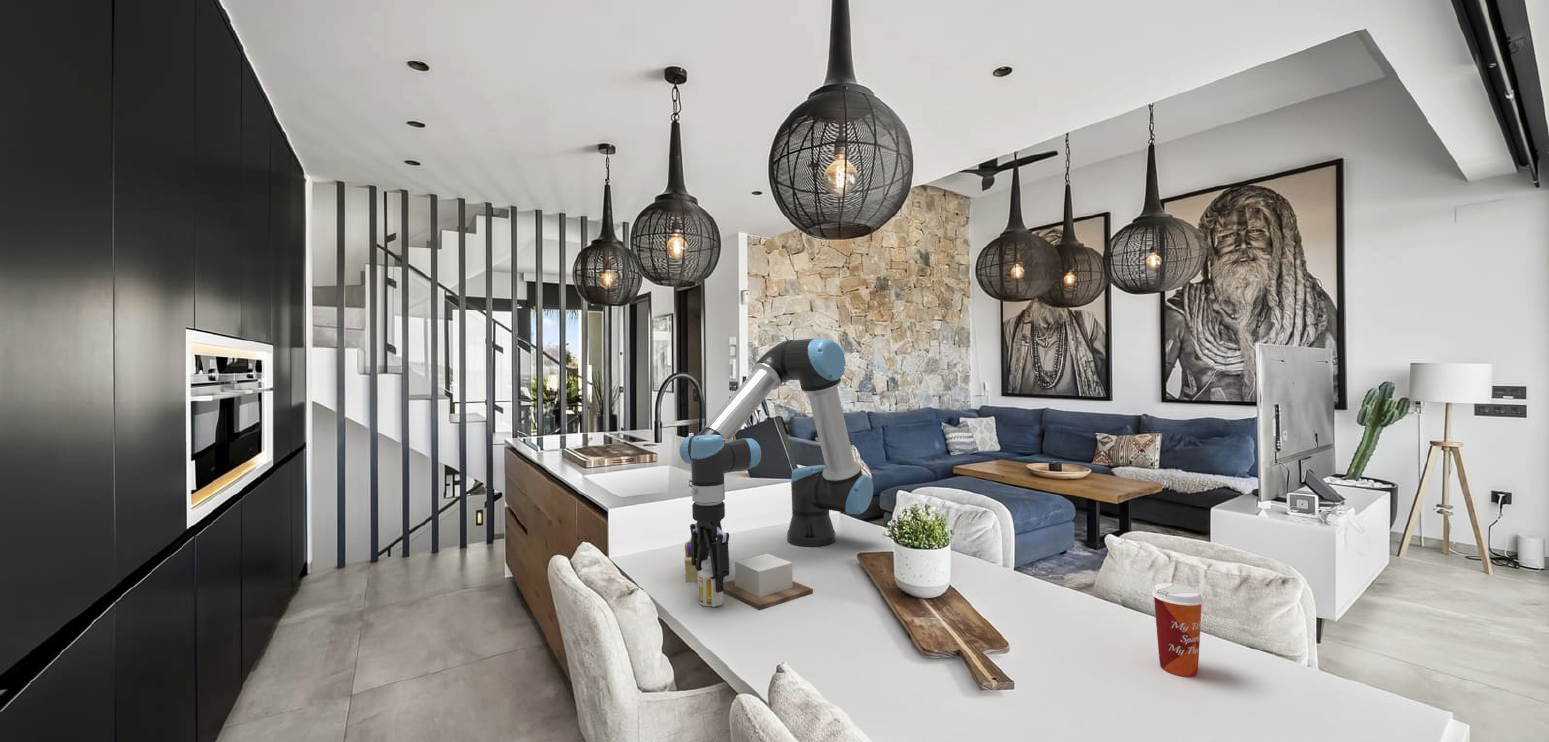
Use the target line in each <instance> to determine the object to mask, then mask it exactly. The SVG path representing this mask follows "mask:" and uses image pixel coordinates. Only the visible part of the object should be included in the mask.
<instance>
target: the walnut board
mask: <svg viewBox="0 0 1549 742" xmlns="http://www.w3.org/2000/svg"><path fill="white" fill-rule="evenodd" d="M723 587H724V590H723V594H724V593H725V594H727V595H728V596H730V597H733V599H737V600H739V601H741V602H742V603H744V604H746V605H748V606H751V607H753V608H754V609H757V610H759V611H761V610H763V608H764V609H767V608H770V607H773V606H777V605H780V604H782V603H786V602H789V601H792V600H795V599H799V598H802V597H805V596H808V595H812V594H813V593H814V589H813V588H811V587H809V586H807V585H805V584H802V583H799V582H797V581H794V580H793V587H792V588H789V589H786V590H782V591H779V592H776V593H772V594H769V595H766V596H762V597H758V596H756V595H753V594H751V593H749V592H747V591H745V590H743V589H741V588H738V587H736V586H735V579H732V580H728V581H725V582H724V581H723ZM760 609H761V610H760Z"/></svg>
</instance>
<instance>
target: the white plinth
mask: <svg viewBox="0 0 1549 742" xmlns="http://www.w3.org/2000/svg"><path fill="white" fill-rule="evenodd" d="M734 580H735V586H736V587H738V588H741V589H743V590H745V591H747V592H749V593H751V594H753V595H756V596H758V597H762V596H766V595H769V594H772V593H776V592H779V591H782V590H786V589H789V588H792V587H793V581H794V579H793V562H791V561H788V560H786V559H783V558H780V557H779V556H774V555H773V554H769V553H765V554H760V555H757V556H753V557H749V558H748V557H747V558H744V559H741V560H735V561H734Z"/></svg>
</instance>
